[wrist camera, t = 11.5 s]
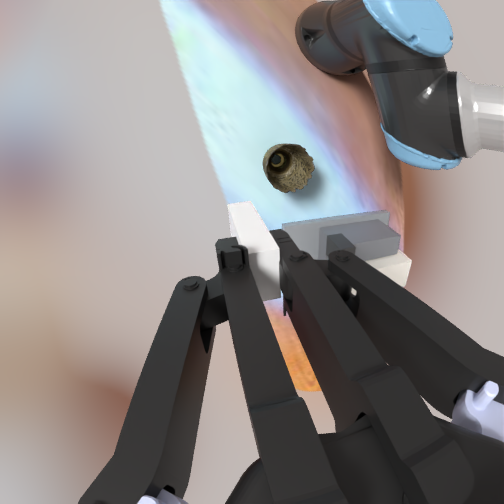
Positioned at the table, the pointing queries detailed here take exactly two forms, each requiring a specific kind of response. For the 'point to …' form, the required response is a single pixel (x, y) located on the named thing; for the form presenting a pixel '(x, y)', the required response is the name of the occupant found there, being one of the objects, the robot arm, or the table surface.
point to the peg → (392, 267)
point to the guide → (346, 235)
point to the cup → (288, 167)
